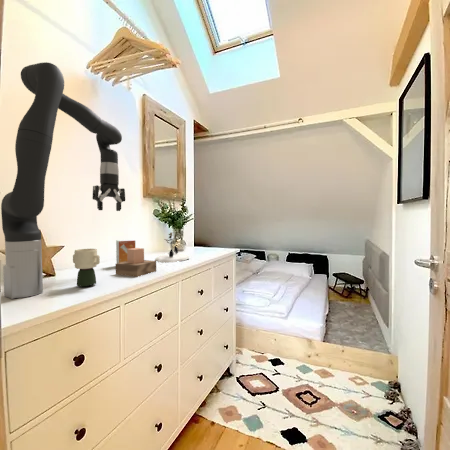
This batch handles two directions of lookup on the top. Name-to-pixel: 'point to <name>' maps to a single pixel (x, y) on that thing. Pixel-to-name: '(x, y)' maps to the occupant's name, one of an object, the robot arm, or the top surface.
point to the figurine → (172, 254)
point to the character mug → (86, 266)
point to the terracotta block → (135, 255)
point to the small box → (123, 249)
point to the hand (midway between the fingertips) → (109, 210)
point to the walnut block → (135, 268)
